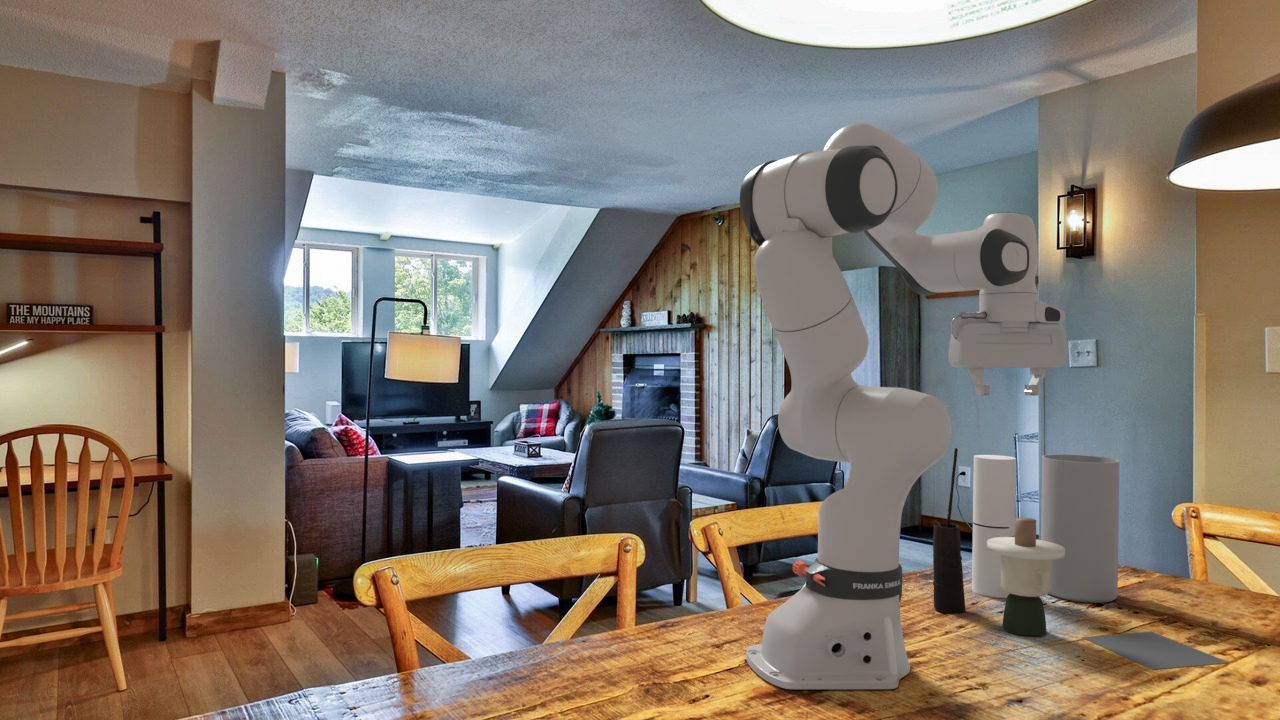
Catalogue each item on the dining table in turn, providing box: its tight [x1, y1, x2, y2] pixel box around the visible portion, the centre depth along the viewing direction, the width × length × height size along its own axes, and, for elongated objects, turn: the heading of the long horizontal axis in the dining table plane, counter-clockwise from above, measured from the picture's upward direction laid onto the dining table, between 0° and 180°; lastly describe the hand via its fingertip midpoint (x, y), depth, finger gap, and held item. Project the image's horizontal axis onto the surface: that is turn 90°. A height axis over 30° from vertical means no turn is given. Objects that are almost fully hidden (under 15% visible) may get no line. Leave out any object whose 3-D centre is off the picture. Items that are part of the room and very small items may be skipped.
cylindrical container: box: [971, 454, 1017, 599], centre depth 149 cm, size 7×7×25 cm
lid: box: [987, 516, 1065, 560], centre depth 126 cm, size 11×11×5 cm
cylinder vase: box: [1040, 453, 1120, 604], centre depth 148 cm, size 12×12×25 cm
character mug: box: [1001, 555, 1051, 637], centre depth 126 cm, size 11×7×13 cm, turn 10°
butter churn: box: [931, 447, 967, 615], centre depth 139 cm, size 9×10×28 cm
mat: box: [1080, 631, 1230, 671], centre depth 118 cm, size 13×13×1 cm
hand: (1007, 395), depth 134 cm, fingers open, 8 cm apart
